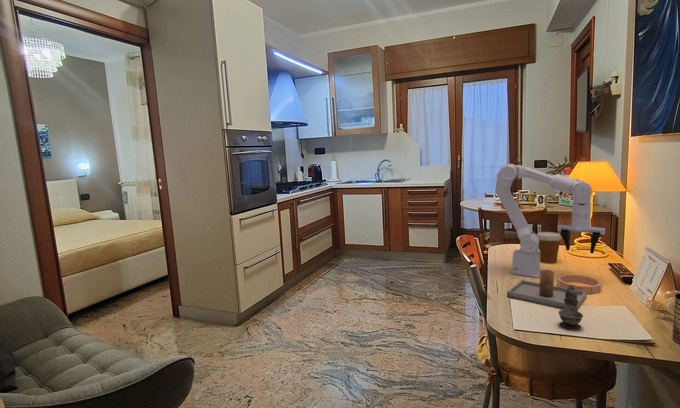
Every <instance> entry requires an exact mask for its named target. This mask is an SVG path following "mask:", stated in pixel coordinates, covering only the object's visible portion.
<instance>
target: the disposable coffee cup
mask: <svg viewBox="0 0 680 408" xmlns="http://www.w3.org/2000/svg"><path fill="white" fill-rule="evenodd" d="M536 234H537V235H538V237H539V239H540V242H539V247H538V249H539V250H540V263H544V264H555V263H557V261H558V256H559V255H558V254H559V249H560V243H561V240H562V236H561V234H560V233H558V232H551V231H540V232H537V233H536Z"/></svg>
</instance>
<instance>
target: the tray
mask: <svg viewBox="0 0 680 408" xmlns="http://www.w3.org/2000/svg"><path fill="white" fill-rule="evenodd" d="M539 290H540V282H534V281H530V280H524V279H522V280H521V279H520V281H519V282H517V283H516V284H514V285H513V286H512V287H511V288H510V289H508V290H507V292H506V296H507V298H511V299H515V300H519V301H525V302H528V303H532V304H538V305H541V306H546V307H551V308H556V309H560V310H564V307H565V301H564V299H565V290H566V288H563V287H558V286H557V285H554V286H553V297H543V296H541V295H539ZM586 299H587V294H586V292H585V291H579V290H577V300H578V301H579V303H577V310H578V311H579V308H580V307H581V305H582V304H583V303H584V301H585V300H586Z"/></svg>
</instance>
